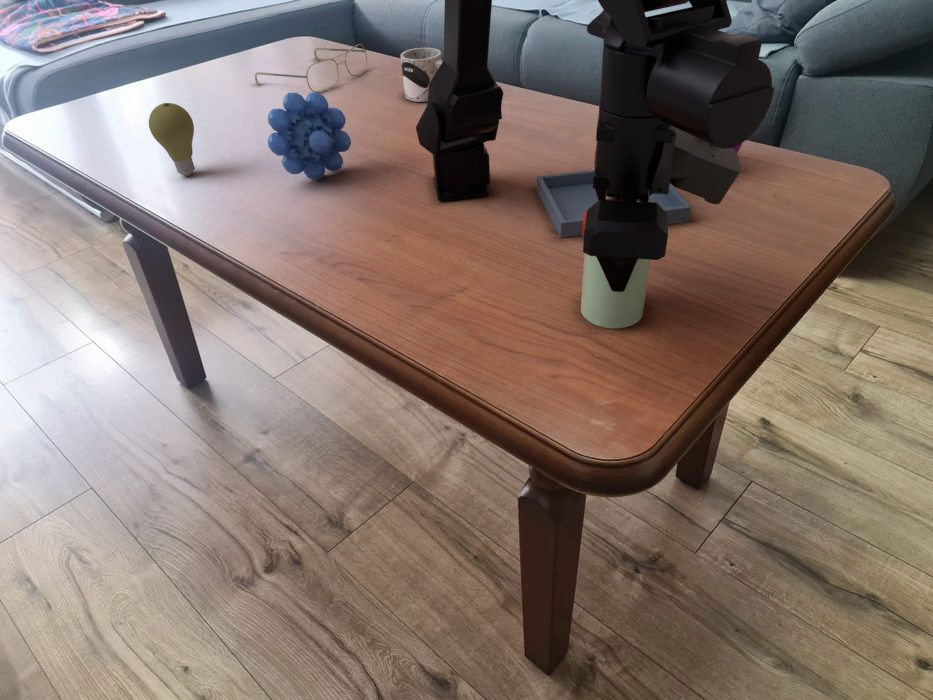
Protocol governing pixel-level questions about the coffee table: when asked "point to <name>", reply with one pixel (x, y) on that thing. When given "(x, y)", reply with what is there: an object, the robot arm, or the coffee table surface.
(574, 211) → the tray
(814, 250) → the coffee table surface
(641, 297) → the jar
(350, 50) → the eyeglasses
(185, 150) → the light bulb
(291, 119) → the blue beaded flower
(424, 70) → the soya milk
